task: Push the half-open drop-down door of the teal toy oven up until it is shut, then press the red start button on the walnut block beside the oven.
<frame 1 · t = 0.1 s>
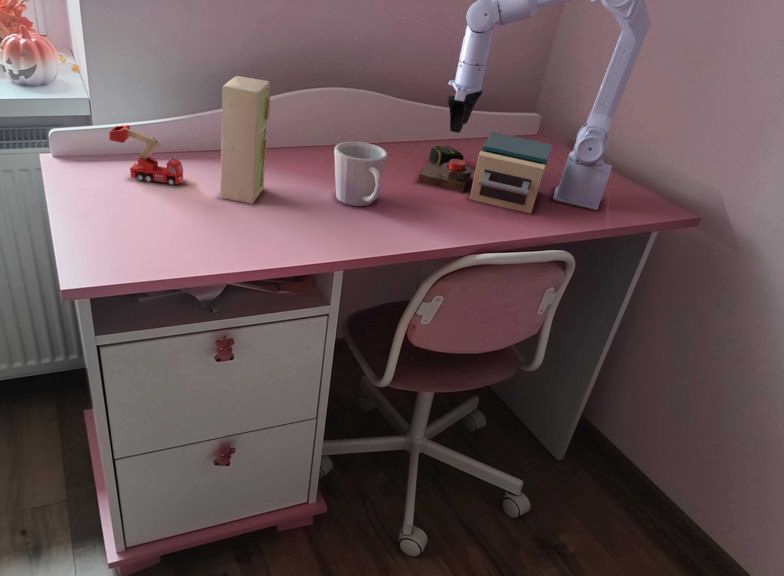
hand: (458, 127, 148), 10 cm above the table, tool pointing down, fingers open, 7 cm apart
mug: (358, 204, 134), on the table
toy oven: (504, 195, 145), on the table
timer block: (444, 181, 149), on the table
toy refrigerator: (244, 195, 132), on the table
toy fire truck: (149, 180, 133), on the table
oven door: (504, 187, 135), point 5 cm above the table, hinge at 13.2°
tape measure: (443, 164, 158), on the table
start button: (457, 165, 146), point 4 cm above the table, slide at 0.1 cm
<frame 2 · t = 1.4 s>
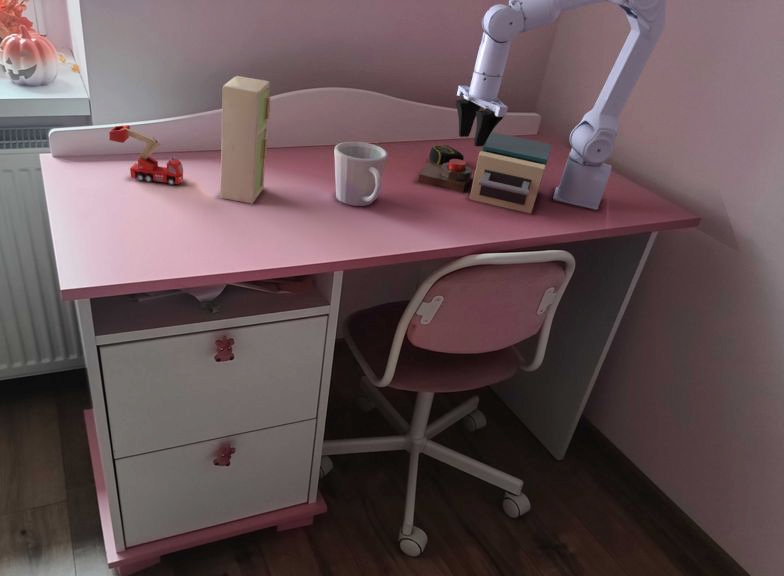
hand: (471, 141, 140), 10 cm above the table, tool pointing down, fingers open, 5 cm apart
nothing on the table moved.
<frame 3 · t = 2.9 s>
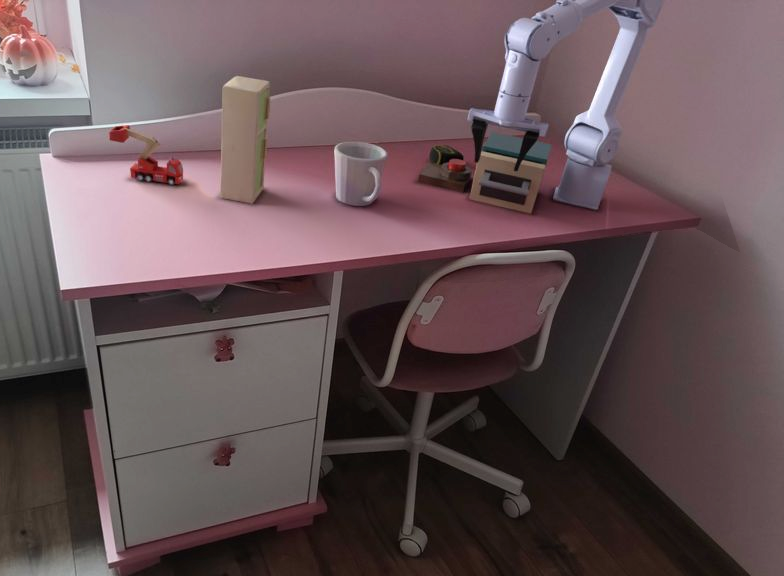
hand: (496, 165, 129), 10 cm above the table, tool pointing down, fingers open, 7 cm apart
nothing on the table moved.
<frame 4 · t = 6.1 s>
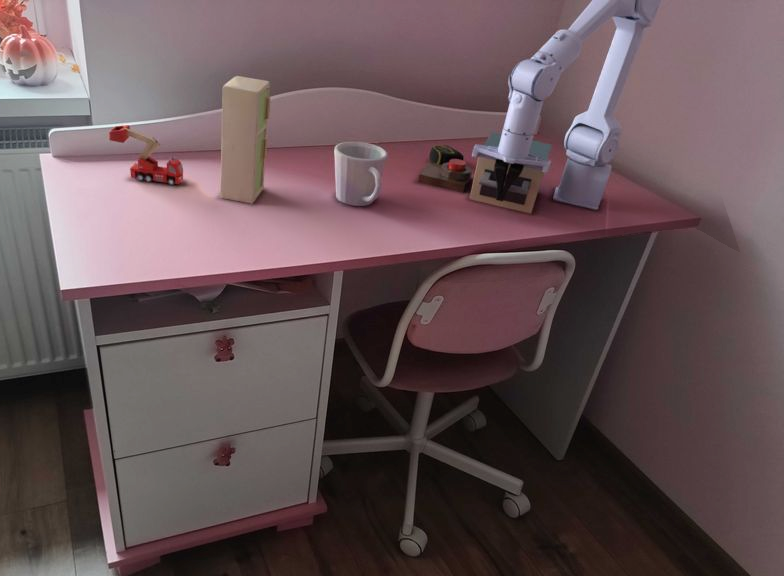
hand: (500, 199, 132), 4 cm above the table, tool pointing down, fingers closed, pressing on oven door
oven door: (504, 187, 135), point 5 cm above the table, hinge at 12.0°, touching gripper
everything else where it was.
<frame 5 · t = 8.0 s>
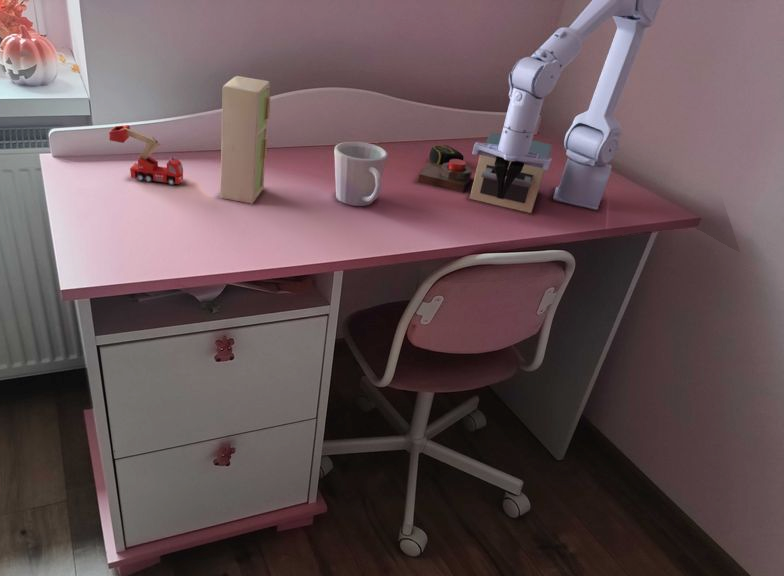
hand: (500, 196, 132), 4 cm above the table, tool pointing down, fingers closed
oven door: (505, 182, 136), point 6 cm above the table, hinge at -0.8°
everything else where it was.
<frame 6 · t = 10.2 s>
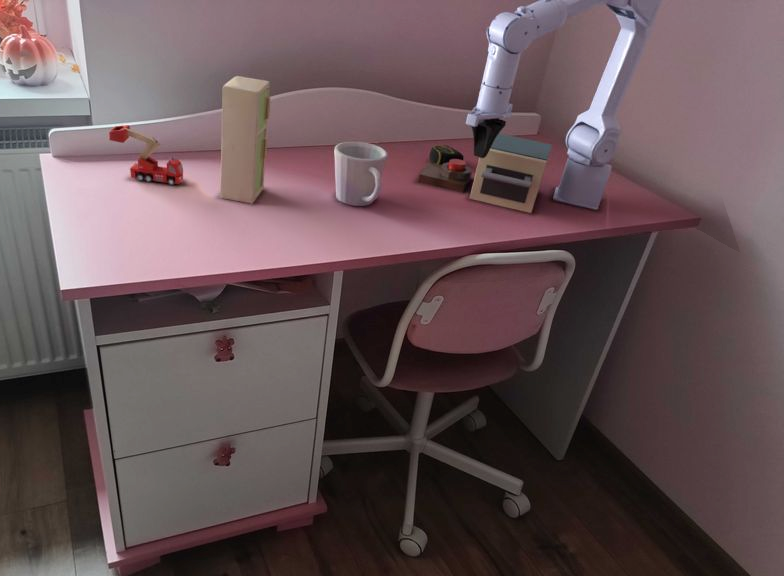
hand: (479, 156, 133), 10 cm above the table, tool pointing down, fingers closed
nothing on the table moved.
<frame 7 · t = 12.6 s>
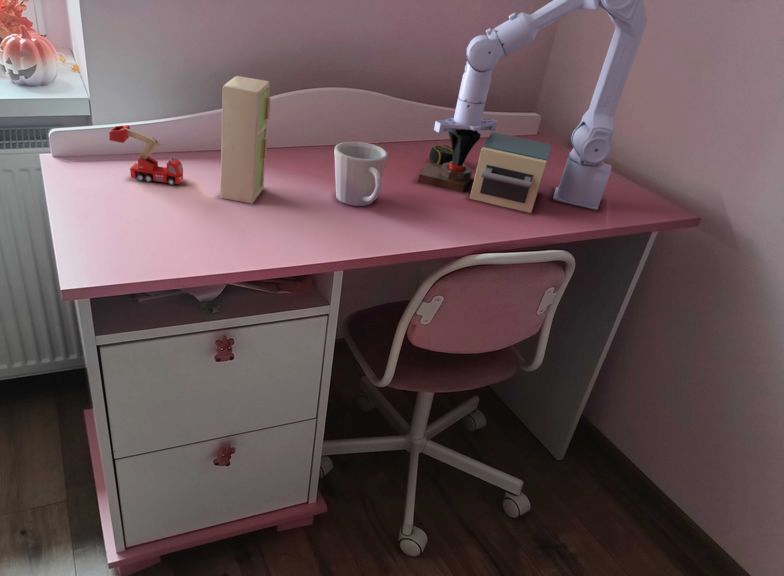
hand: (457, 163, 146), 4 cm above the table, tool pointing down, fingers closed, pressing on start button
start button: (456, 167, 146), point 4 cm above the table, slide at -0.3 cm, touching gripper
everything else where it was.
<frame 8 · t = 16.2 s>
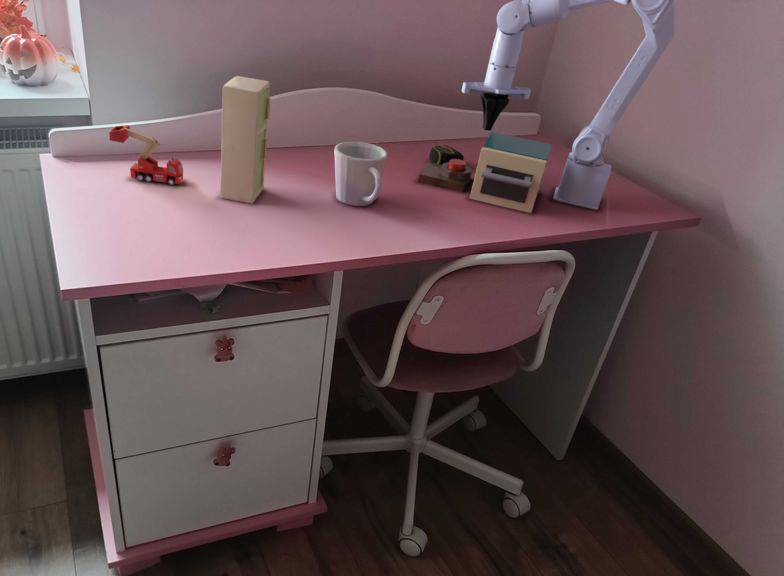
hand: (486, 129, 148), 10 cm above the table, tool pointing down, fingers closed
start button: (457, 165, 146), point 4 cm above the table, slide at 0.1 cm
everything else where it was.
at the end: oven door at -1° (first picture: +14°); start button pushed in 1.0 cm at the most during the clip, back to where it started at the end; start button slide at 0.1 cm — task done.
